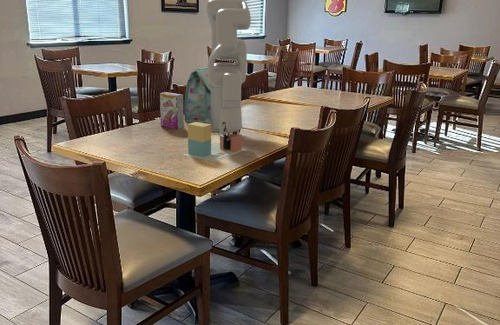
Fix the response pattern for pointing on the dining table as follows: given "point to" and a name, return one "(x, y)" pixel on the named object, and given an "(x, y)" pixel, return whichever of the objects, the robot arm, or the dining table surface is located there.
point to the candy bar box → (171, 110)
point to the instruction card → (218, 155)
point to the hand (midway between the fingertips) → (230, 147)
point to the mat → (214, 148)
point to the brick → (233, 142)
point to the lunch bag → (198, 97)
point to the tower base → (199, 148)
